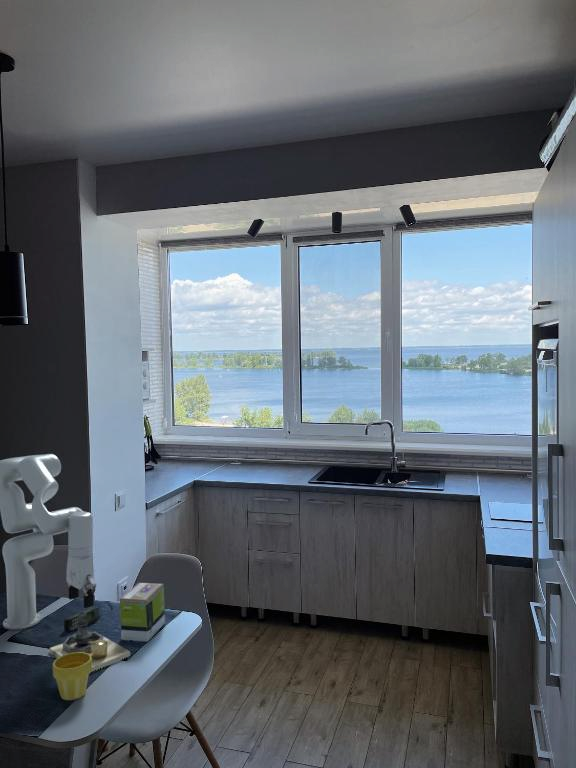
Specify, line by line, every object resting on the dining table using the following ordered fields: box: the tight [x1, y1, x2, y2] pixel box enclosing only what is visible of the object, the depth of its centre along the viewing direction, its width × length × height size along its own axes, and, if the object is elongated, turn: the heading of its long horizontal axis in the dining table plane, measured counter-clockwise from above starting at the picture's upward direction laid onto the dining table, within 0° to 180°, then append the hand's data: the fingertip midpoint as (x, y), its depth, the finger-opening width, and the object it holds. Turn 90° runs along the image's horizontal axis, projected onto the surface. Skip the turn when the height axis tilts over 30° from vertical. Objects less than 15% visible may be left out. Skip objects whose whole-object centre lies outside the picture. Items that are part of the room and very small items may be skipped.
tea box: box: [119, 582, 166, 643], centre depth 208 cm, size 15×10×15 cm
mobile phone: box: [63, 606, 101, 633], centre depth 215 cm, size 5×3×15 cm
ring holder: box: [63, 631, 104, 653], centre depth 195 cm, size 12×12×2 cm
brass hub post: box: [91, 640, 108, 660], centre depth 188 cm, size 5×5×4 cm
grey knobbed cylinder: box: [73, 609, 93, 647], centre depth 195 cm, size 6×6×12 cm
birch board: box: [49, 635, 131, 674], centre depth 192 cm, size 22×16×2 cm
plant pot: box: [52, 652, 92, 701], centre depth 169 cm, size 10×10×10 cm
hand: (81, 602), depth 195 cm, fingers open, 9 cm apart
